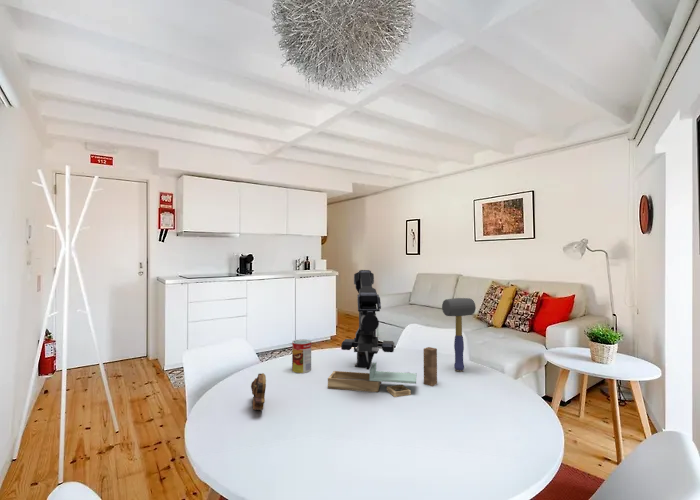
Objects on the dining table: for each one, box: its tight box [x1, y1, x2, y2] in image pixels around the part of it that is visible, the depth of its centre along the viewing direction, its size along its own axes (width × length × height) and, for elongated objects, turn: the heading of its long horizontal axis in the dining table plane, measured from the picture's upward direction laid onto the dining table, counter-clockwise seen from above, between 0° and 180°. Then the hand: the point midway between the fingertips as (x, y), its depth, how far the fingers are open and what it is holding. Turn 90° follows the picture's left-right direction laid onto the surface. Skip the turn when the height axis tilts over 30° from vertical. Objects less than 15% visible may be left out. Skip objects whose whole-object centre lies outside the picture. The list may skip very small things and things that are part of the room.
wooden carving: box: [250, 372, 267, 411], centre depth 111 cm, size 16×5×10 cm, turn 21°
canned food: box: [291, 338, 312, 374], centre depth 148 cm, size 8×8×12 cm
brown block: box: [423, 346, 438, 387], centre depth 132 cm, size 4×4×13 cm
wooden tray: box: [327, 370, 382, 393], centre depth 130 cm, size 9×18×4 cm, turn 79°
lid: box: [369, 362, 417, 385], centre depth 127 cm, size 9×16×4 cm, turn 79°
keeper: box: [386, 383, 412, 398], centre depth 123 cm, size 6×6×2 cm
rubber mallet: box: [441, 297, 477, 372], centre depth 148 cm, size 12×8×30 cm, turn 107°
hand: (368, 369), depth 129 cm, fingers closed
